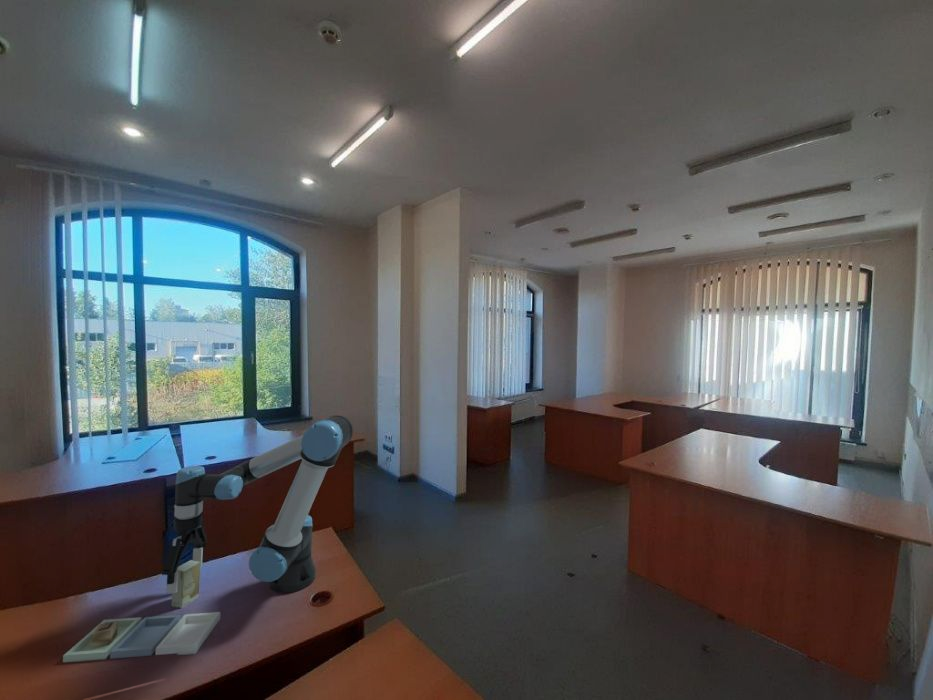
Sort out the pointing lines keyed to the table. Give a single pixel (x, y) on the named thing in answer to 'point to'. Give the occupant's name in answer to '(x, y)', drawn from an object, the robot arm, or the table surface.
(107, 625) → the letter cube
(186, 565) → the skincare box
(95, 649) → the tray
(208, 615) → the tray
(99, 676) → the table surface
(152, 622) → the tray
